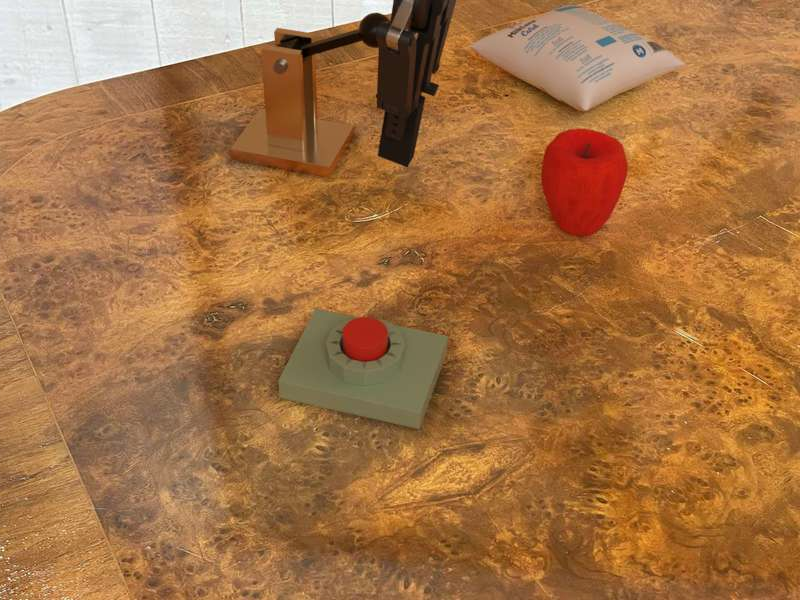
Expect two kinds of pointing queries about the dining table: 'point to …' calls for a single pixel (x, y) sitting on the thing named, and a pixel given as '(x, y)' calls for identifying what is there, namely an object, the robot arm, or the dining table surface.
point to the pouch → (576, 56)
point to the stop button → (365, 339)
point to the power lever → (342, 37)
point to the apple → (583, 179)
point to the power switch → (291, 115)
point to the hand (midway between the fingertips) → (395, 156)
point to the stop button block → (364, 371)
